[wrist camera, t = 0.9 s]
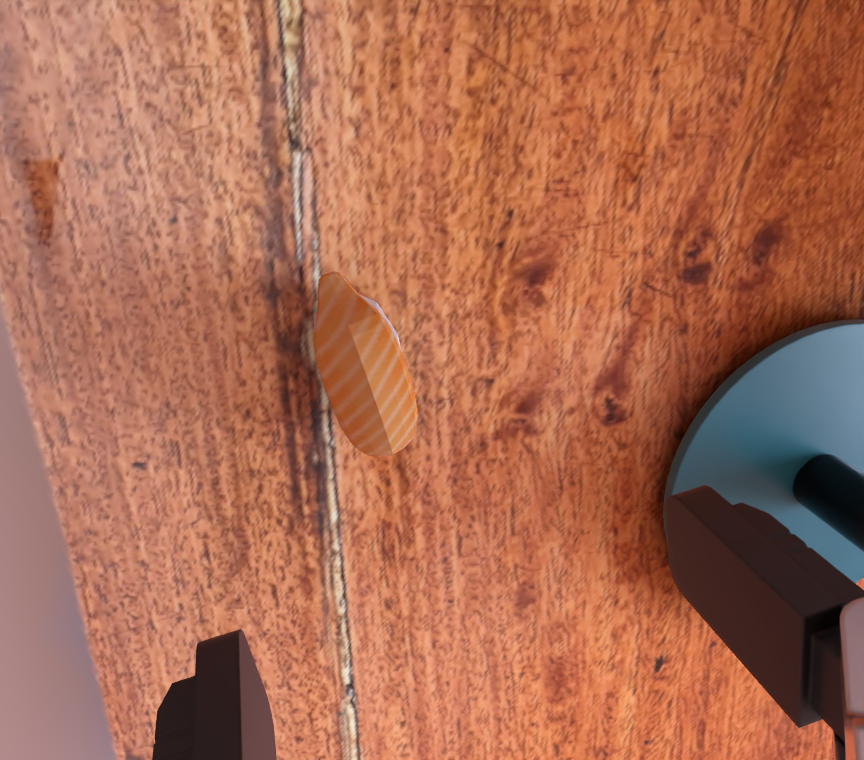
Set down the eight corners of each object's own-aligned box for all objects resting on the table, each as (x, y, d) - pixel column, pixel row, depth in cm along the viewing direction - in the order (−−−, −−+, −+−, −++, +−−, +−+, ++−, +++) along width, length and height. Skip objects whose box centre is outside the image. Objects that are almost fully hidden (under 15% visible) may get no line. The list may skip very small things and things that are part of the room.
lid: (645, 364, 28) (744, 434, 23) (952, 277, 30) (1108, 323, 25) (662, 635, 34) (744, 742, 28) (919, 546, 36) (1040, 631, 30)
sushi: (351, 448, 26) (365, 492, 24) (283, 279, 23) (290, 307, 21) (421, 420, 27) (444, 460, 24) (363, 250, 24) (381, 274, 21)
